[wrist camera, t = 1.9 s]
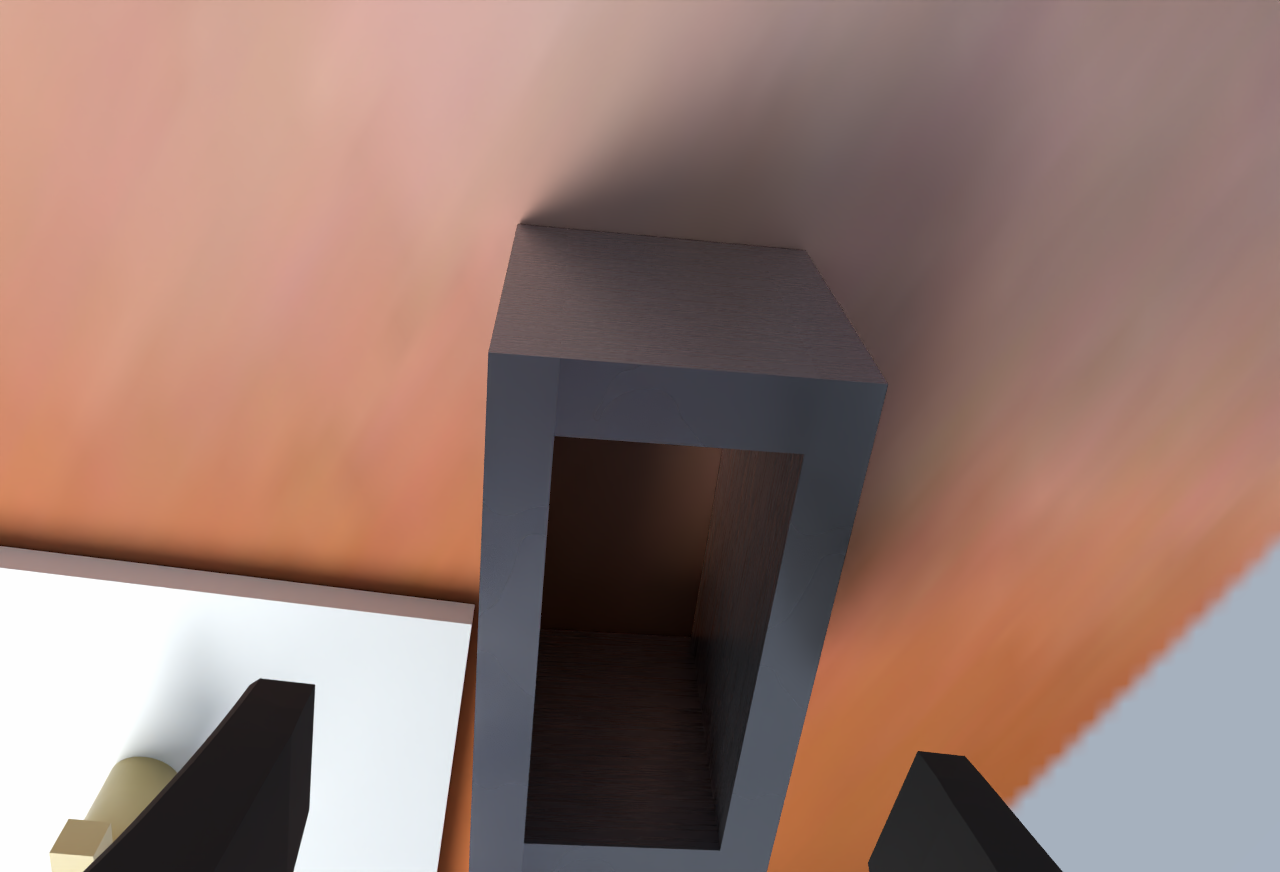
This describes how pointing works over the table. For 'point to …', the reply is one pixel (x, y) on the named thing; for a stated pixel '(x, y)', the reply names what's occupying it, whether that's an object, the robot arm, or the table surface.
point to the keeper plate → (218, 703)
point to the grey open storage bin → (733, 563)
